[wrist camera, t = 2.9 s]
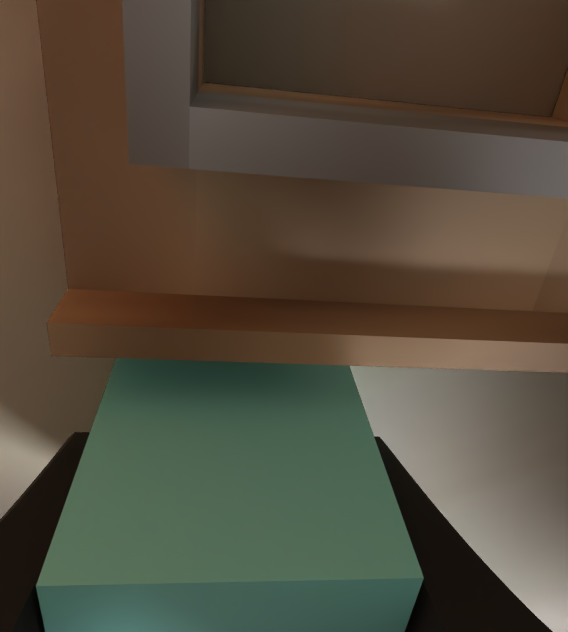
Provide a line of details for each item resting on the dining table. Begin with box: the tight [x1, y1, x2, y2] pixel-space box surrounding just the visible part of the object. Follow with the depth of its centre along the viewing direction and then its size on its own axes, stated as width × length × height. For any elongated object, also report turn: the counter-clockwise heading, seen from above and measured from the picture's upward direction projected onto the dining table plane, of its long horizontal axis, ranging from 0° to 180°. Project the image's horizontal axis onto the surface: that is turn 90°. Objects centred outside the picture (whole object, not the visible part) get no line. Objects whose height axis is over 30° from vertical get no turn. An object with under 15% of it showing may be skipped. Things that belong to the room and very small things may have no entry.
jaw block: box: [36, 358, 424, 632], centre depth 8 cm, size 4×4×5 cm
